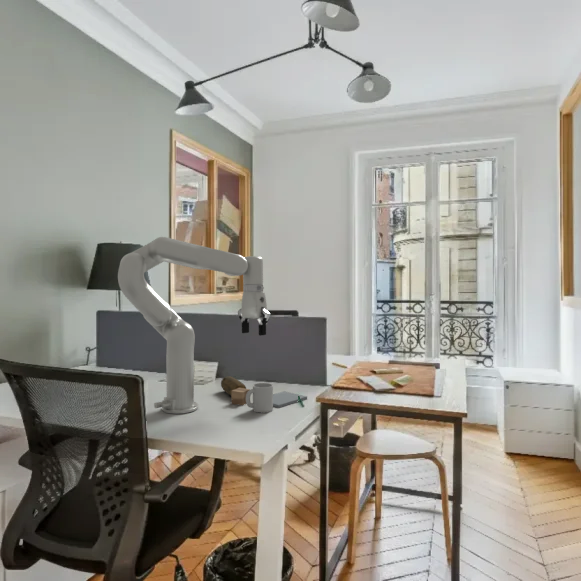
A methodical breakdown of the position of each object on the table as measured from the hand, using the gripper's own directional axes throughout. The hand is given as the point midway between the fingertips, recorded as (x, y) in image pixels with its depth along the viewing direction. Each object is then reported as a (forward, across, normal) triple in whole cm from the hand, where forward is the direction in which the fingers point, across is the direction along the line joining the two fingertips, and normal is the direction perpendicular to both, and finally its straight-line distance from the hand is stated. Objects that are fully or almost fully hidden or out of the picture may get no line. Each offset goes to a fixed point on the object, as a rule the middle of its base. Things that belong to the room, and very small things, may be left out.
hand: (253, 334), depth 174 cm
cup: (+26, -10, +7) cm, 29 cm away
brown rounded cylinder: (+26, +13, 0) cm, 29 cm away
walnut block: (+26, +2, +5) cm, 26 cm away
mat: (+26, -7, -8) cm, 28 cm away
